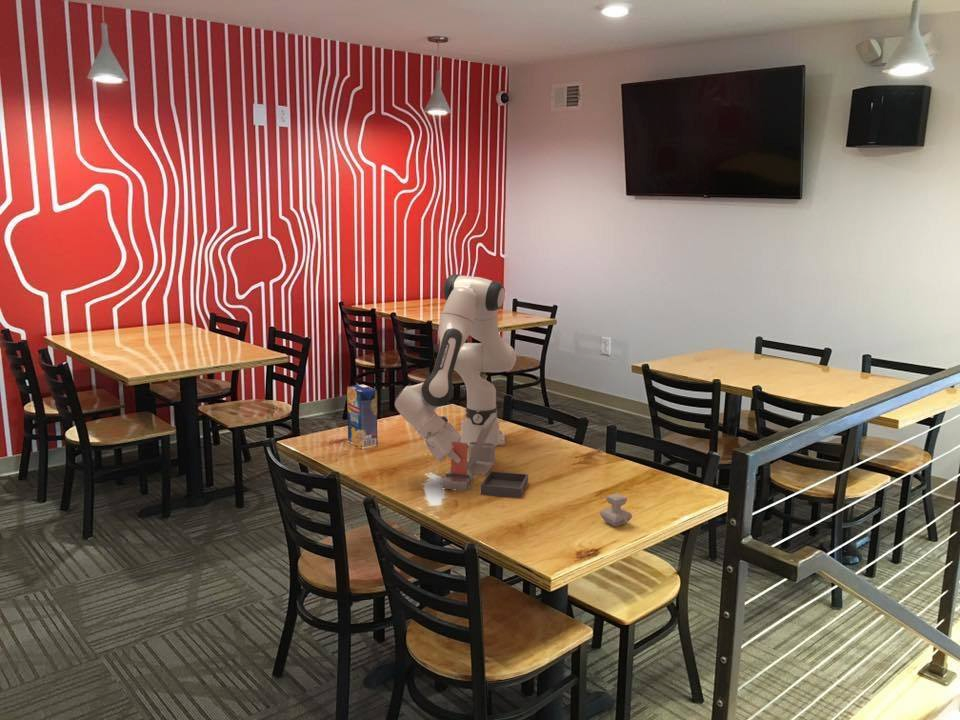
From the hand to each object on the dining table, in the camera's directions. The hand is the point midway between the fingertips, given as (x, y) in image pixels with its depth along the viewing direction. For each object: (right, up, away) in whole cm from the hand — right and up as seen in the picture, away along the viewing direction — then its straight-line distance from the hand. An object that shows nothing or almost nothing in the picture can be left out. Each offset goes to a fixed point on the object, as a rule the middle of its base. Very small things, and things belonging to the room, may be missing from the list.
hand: (461, 460), depth 253 cm
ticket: (-1, -8, +2) cm, 8 cm away
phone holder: (+5, -5, +19) cm, 20 cm away
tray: (+14, -9, -2) cm, 17 cm away
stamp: (+45, -15, -28) cm, 56 cm away
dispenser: (-1, -8, +2) cm, 8 cm away
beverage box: (-39, 0, +42) cm, 57 cm away
